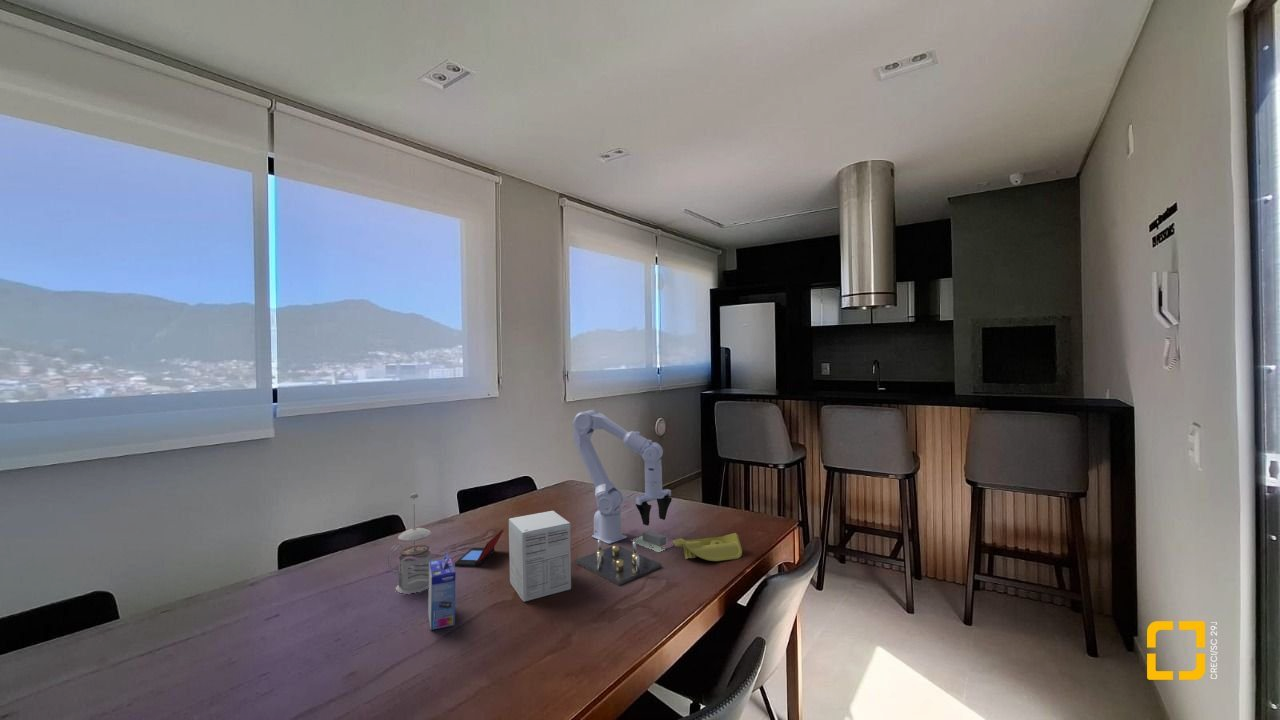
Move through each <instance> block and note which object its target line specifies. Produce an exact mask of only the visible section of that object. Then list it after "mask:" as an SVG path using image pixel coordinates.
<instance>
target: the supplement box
mask: <svg viewBox="0 0 1280 720" xmlns="http://www.w3.org/2000/svg"><path fill="white" fill-rule="evenodd" d="M508 544H509V550H508V551H509V583H510V584H511V586H512V588H513V589H514V591H515V592H516V593H517V596H519V597H520V599H521V600H522V601H523V602H524V603H525V602H529V601H532V600H536V599H539V598H542V597H546V596H549V595H555V594H557V593H562V592H564V591H565V592H567V591H569V590H571V589H572V571H571V569H572V568H571V567H572V562H571V561H572V560H571V554H572V553H571V522H570V521H568V520H566V519H565V518H564V517H563V516H561V515H560V514H559V513H557V512H556V511H554V510H550V511H549V510H548V511H543V512H538V513H533V514H527V515H521V516H515V517H511V518H509V519H508Z"/></svg>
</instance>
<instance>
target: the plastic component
mask: <svg viewBox="0 0 1280 720" xmlns="http://www.w3.org/2000/svg"><path fill="white" fill-rule="evenodd" d="M672 541H673V543H674V544H675V546H674V547H678V548H681V547H683V552H684V559H685V560H689V559H688V558H690V559H694V558H695V559H696V558H697V557H698V558H700V559H703V560H704V561H705V560H706V561H711V562H721V561H729V560H737V559H740V558H741V556H742V555H743V548H742V546H741V540H740V539H739V535H738V534H737V533H736V532H734V533H730V534H726V535H723V536H722V535H721V536H715V537H714V536H713V537H703V538H695V539H694V538H693V539H683V538H676V539H674V540H672Z"/></svg>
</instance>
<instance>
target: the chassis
mask: <svg viewBox="0 0 1280 720" xmlns="http://www.w3.org/2000/svg"><path fill="white" fill-rule="evenodd" d="M576 563H577V564H576ZM575 564H576V565H578V564H579V565H578V566H580V565H581V566H580V567H582V568H584V567H585V568H584V569H586V570H587V571H590V572H591V573H594V574H596V575H597V574H598V576H599V575H600V576H599V577H601V576H602V577H601V578H603V577H604V580H605V579H606V580H607V581H609V582H611V583H613V584H615V585H617V586H621V585H624V584H627V583H628V582H631V581H633V580H635V579H637V578H639V577H640V578H641V577H642V576H644V575H647V574H649V573H651V572H654V571H656V570H658V569H660V568H662V563H660V562H658V561H656V560H654V559H651V558H648V557H646V556H644V555H641V554H639V553H637V544H636V541H633V542H632V551H631V550H629V549H628V548H624V547H622V546H620V545H619V544H613V545H612V546H611V547H608V548H605V549H602V541H601V540H598V539H597V551H596V552H593V553H591V554H588V555H585V556H583V557H580V558H577V559H575Z"/></svg>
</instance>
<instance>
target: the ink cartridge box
mask: <svg viewBox="0 0 1280 720" xmlns="http://www.w3.org/2000/svg"><path fill="white" fill-rule="evenodd" d="M430 561H431V562H429V589H428V596H427V597H428V600H427V602H428V603H427V605H428V606H427V607H428V610H427V612H428V613H427V615H428V620H429V628H430V631H433V630H437V629H444V628H448V627H453V626H455V625H456V579H457V578H456V576H457V575H456V574H457V573H456V569H455V564H454V562H453V559H452V557H450V554H449V552H447V553H446V554H445V556H444V557H443V558H442V559H436V560H430Z"/></svg>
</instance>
